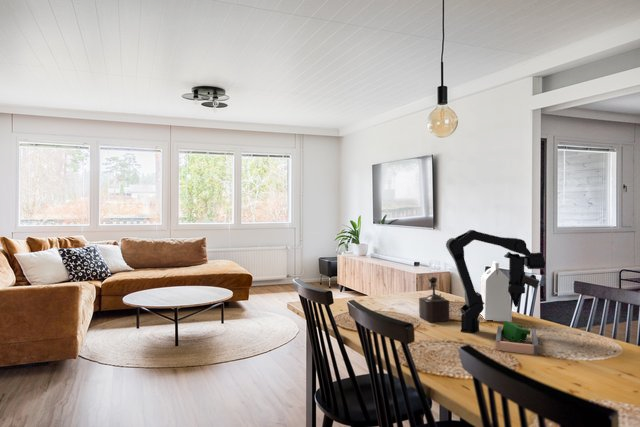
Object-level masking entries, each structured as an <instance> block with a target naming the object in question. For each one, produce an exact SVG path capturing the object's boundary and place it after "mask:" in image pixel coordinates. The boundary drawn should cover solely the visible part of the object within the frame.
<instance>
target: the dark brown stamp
mask: <svg viewBox="0 0 640 427" xmlns="http://www.w3.org/2000/svg"><path fill="white" fill-rule="evenodd" d="M437 279H438V278H437V277H435V276H434V277H433V276H432V277H430V278H429V279H428V281H429V283H430V286H429V287H427V289H428V290H432V294H430V295H428V296H425V297H419V298H418V301H419V302H418V306H419V307H418V309H419V310H418V311H419V319H421V320H424V321H425V322H427V323H442V322H444V323H445V322H450V300H448V299H446V298H445V297H444V296H442V294H441V293H440V294H437V293H436V287H437V284H436V283H437V282H438V280H437Z"/></svg>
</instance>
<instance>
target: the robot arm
mask: <svg viewBox="0 0 640 427" xmlns="http://www.w3.org/2000/svg"><path fill="white" fill-rule="evenodd" d="M473 241H478V242H482V243H487V244H491V245H493V246H498V247H501V248H504V249H507V250H509V251H508V252H507V253H506V254H504V255H503V257H504V258H506V259H508V260H509V266H508V268H509V269H508V275H509V277H508V278H509V286H508V292H509V293H510V296H511V301H512V302H513V305H514V307H515V308H517V307H519V303H520V300H521V299H520V298H521V295H523V294H526V285H527V286H530V287H532V288H534V289H537V288H538V287H539V284H540V282H541V281H540V280H539V279H538V278H537V276H536V275H535V274H531V275H527V274H526V271H525V267H526V268H527V269H528V270H544V269H545V267H546V261H545V257H544V253H543V252H540V251H539V252H531V251H530V250H529V248H527V243H526V241H525V240H524V239H522V238H517V237H502V236H497V235H492V234H489V233H484V232H480V231H477V230H474V229H469V230H467V231H466V232H464V233H462V234H460V235H458V236H456V237H455V238H454V237H451V238H448V239H447V241H446V242H445V247H446V249H447V251H448V253H449V254H450V256H451V258H452V260H453V262H454V264H455V266H456V270H457V272H458V275H459V280H460V282H461V286H462V288H463V291H464V300H465V302H464V304H463V305H462V306H461V307H460V308H459V310H460V312H461V316H460V317H461V320H460V321H461V322H460V324H461V325H460V332H461V333H462V332H463V333H471V334H477V333H478V331H480V319H479V316H480V313H481V312H482V311H483V309H484V307H483V304H484V302H483V301H482V296H481V293H480V292H479V291H478V292H476V290H475V287H474V284H473V282H472V279H471V278H472V277H471V275H470V272H469V270H468V265H467V264H466V260H465V250H464V248H465V247H467V246H468V245H469V244H471V242H473ZM511 252H514V253H511Z"/></svg>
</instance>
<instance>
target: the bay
mask: <svg viewBox="0 0 640 427" xmlns="http://www.w3.org/2000/svg"><path fill="white" fill-rule="evenodd" d="M502 328H503V325H497V331H496V337H495V349H498V350H497V351H500V350H502V351H501V352H508V353H509V352H510V353H518V354H528V355H534V356H535V355H536V356H538V355H539V342H538V335H537V329H536V328H531V343H521V342H518V343H517V342H512V341H511V342H510V341H502V336H503V335H502ZM532 344H533V345H532ZM495 349H494V350H495Z"/></svg>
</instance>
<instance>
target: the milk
mask: <svg viewBox="0 0 640 427" xmlns="http://www.w3.org/2000/svg"><path fill="white" fill-rule="evenodd" d="M480 284H481V285H480V294H481V296H482V301H483V302H484V304H483V307H484V309H483V311H482V312H481V313H480V314H481V315H482V316H483V318H484V319H485V320H486V319H487V320H493V321H492V322H504V321H508V322H512V323H513V320H512V319H513V317H512V316H513V315H512V298H511V296H510V293H509V292H508V286H509V277H508V276H507V275H506V274H504V272H502V270H501V269H500V264H499V262H498V261H496V260H493V261H492V264H491V267H490V268H488V269H486V270H485V272H484V273H482V274H481V281H480ZM480 314H479V315H480ZM481 315H480V316H481ZM482 316H481V317H482ZM483 318H482V319H483ZM484 319H483V320H484ZM485 320H484V321H485Z"/></svg>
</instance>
